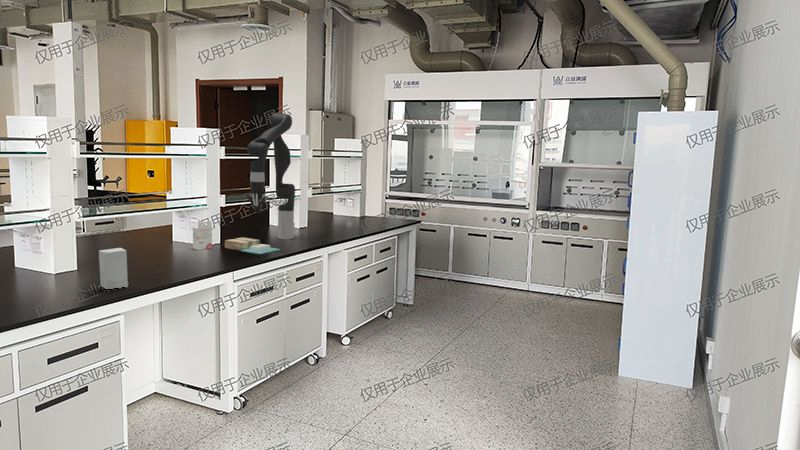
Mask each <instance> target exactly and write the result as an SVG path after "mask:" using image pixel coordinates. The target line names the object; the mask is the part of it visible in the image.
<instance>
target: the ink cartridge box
mask: <svg viewBox="0 0 800 450" xmlns="http://www.w3.org/2000/svg"><path fill="white" fill-rule="evenodd" d="M212 229H213V227H212V221H211V220H208V221H198V222H197V226H192V250H193V249H194V250H197V251H202V250H209V249H212V248H213V232H212V231H213V230H212Z"/></svg>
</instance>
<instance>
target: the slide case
mask: <svg viewBox="0 0 800 450" xmlns="http://www.w3.org/2000/svg"><path fill="white" fill-rule="evenodd" d="M270 247H271V245H270V244H266V243H265V244H263V243H260V244H258V245H253V246H250V250H254V251H263V250H267V249H270Z"/></svg>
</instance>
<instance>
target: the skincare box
mask: <svg viewBox="0 0 800 450" xmlns="http://www.w3.org/2000/svg"><path fill="white" fill-rule="evenodd" d="M127 254H128V253H127V250H126V249H124V248H122V247H115V248H108V249H100V250H98V261H99V276H100V277H99V278H100V279H99V280H100V282H99V283H100V287H101V286H102V287H104V288H105V289H113V288H119V289H123V288H122V287H125V288H128V287H129V283H128V282H129V281H128V280H129V279H128V256H127ZM113 290H114V289H113Z"/></svg>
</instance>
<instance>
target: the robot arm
mask: <svg viewBox="0 0 800 450" xmlns="http://www.w3.org/2000/svg"><path fill="white" fill-rule="evenodd" d="M292 125H293V118H292V116H291V115H290V114H288V113H282V112H273V113H272V114H271V116H270V128H269V129H267V130H265V131H264V132H263V133H262V134H260V136H259V137H258V138H255V139H254V140H252V141H250V142H249V144H248V145H247V147H246V151H247V152H246V153H248V155H250V156H253V157H258V158H257V159H256V160H252V161H251V162H250V175H249V189H250V192H249V194H247V195H246V197H247V199H248V201H249V203H250V204H251V205H252V206H254V207H253V208H254V209H253V210H254V213H255V214H260V212H261V206H264V205H265V203H266V202H267V200H268V198H269V197H268V196H267V195H266V194H265V187H266V185H265V184H266V182H265V181H266V179H265V178H266V176H265V175H266V174H265V164H266V159H267V156H268V153H269V147H271V145H272V144H273V152H274V153H273V157H274V168H275V194H276V197H277V199H282V200H287V201H286V202H285V203H282V204H279V205H278V206H277V208H278V209H277V213H278V214H277V239H279V240H292V239H294V238H295V222H294V219H295V218H294V217H295V216H294V215H295V213H294V212H295V197H296V186H295V185H294V184H293V183H283V179H284V175H285V174H286V172H287V170H288V169H289V167H290V165H291V163H292V161H291V151H290V148H289V147H288V145H287V144H286V142H285V140H284V139H283V137H282V135H283V134H285V133H287V132H288V131H289V130H290V129H291V127H292Z"/></svg>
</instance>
